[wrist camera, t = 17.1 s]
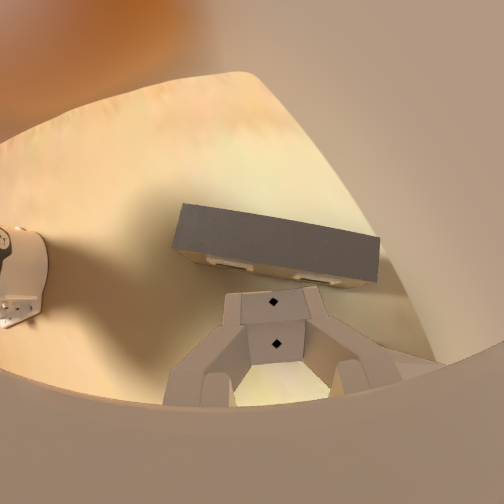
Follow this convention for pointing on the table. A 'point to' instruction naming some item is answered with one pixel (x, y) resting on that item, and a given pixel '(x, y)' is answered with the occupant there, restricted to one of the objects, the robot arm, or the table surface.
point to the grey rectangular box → (276, 247)
